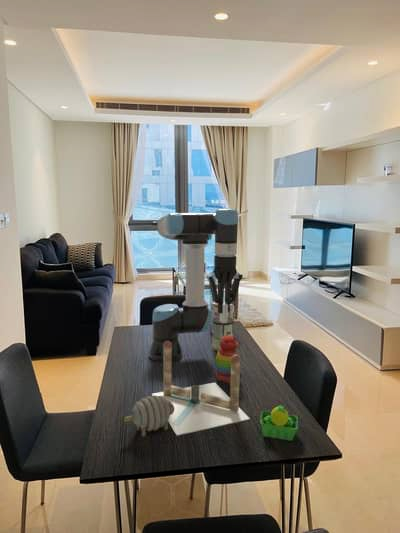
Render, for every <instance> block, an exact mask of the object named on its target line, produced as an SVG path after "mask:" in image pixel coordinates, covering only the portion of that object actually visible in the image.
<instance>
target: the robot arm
mask: <svg viewBox="0 0 400 533" xmlns="http://www.w3.org/2000/svg"><path fill="white" fill-rule="evenodd" d="M238 212H239V211H238V210H237V209H236V208H235V209H234V208H217V209H216V210H215V212H172V213H171V212H170V213H167V215H164V216H162V217H161V218H160V219H159V220H158V221H157V224H156V229H157V232H158V234H159V235H160V237H163V238H165V239H168V240H173V241H181V244H182V246H183V247H184V248H185V300H184V301H183V302H182V307H179V306H178V304H176V303H173V304H172V303H166V304H162V305H159V306H157V307H155V308H154V309H153V310H152V318H151V320H152V341H151V344H150V347H149V350H148V357H149V359H151V360H153V361H156V362H161V363H163V343H164V342H165V341H170V342H171V343H172V362H174V361H178V360H179V359H181V358H182V356H183V350H182V346H181V344H180V340H179V334H192V333H204V332H207V331H209V329H210V325H211V321H212V310H211V306H209V303H208V302H207V301H206V299H205V248H206V247H207V246H208V245H209V241H210V240H212V238H213V235H214V254H215V255H214V259H213V260H214V262H213V267H214V268H213V271H212V273H211V274H210V275H209V274H208V275H206V279H207V282H208V283H209V289H210V293H211V294H210V295H211V298H212V302H215V303H218V313H220V321H221V322H222V323H227V317H228V312H230V304H233V303H234V302H236V299H237V295H238V291H239V286H240V283H241V281H242V279H243V275H244V274H241V273H239V272H238V271H237V254H238V253H237V252H238V251H237V250H238V249H237V248H238V231H239V229H238V228H239V213H238ZM215 280H217V285H216V281H215Z"/></svg>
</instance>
